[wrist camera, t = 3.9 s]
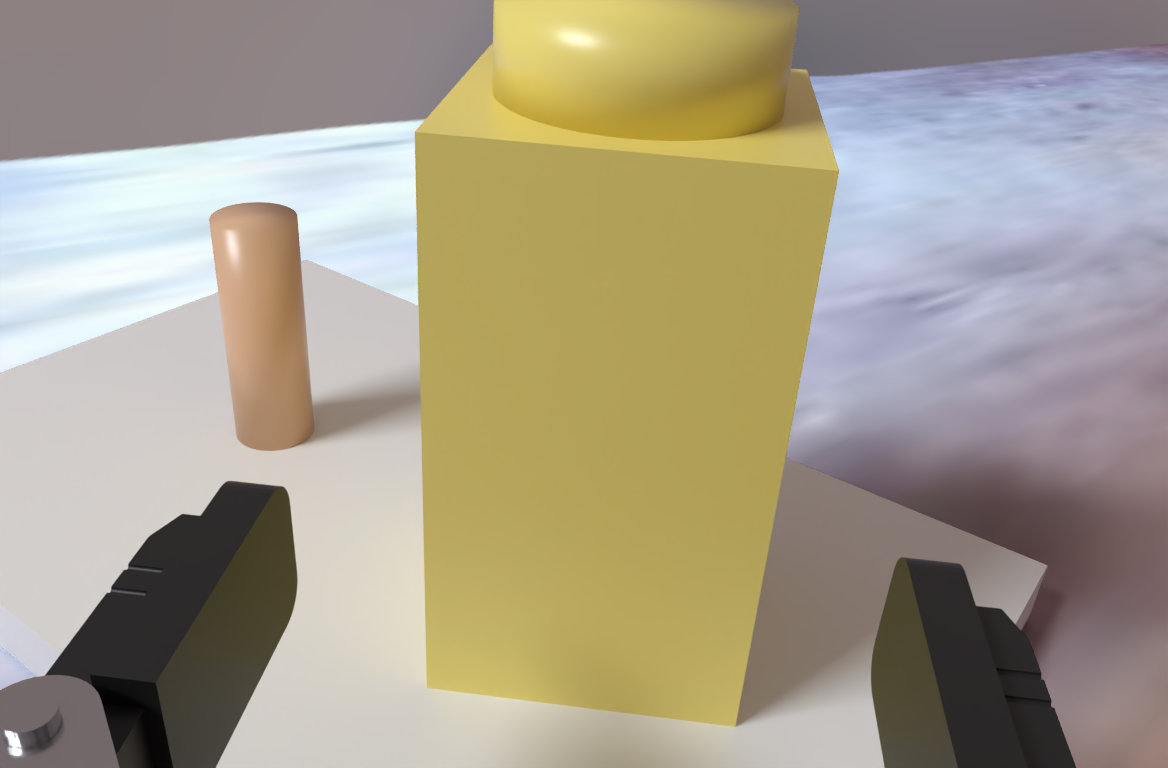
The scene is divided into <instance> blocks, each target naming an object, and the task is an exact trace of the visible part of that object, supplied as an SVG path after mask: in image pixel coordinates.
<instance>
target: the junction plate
mask: <svg viewBox="0 0 1168 768" xmlns="http://www.w3.org/2000/svg"><path fill="white" fill-rule="evenodd" d="M209 221H210V229H211V237H212V245H213V253H214V261H215V269H216V277H217V285H218V293H215V294H212V295H210V296H207V297H204V298H202V299H199V300H196V301H193V302H191V303H188V304H185V305H183V306H180V307H177V308H175V309H172V310H169V311H166V312H164V313H161V314H158V315H156V316H153V317H150V318H147V319H145V320H142V321H139V322H137V323H134V324H131V325H129V326H126V327H123V328H120V329H118V330H115V331H112V332H110V333H107V334H104V335H101V336H99V337H96V338H93V339H91V340H88V341H85V342H83V343H80V344H77V345H74V346H72V347H69V348H66V349H64V350H61V351H58V352H55V353H53V354H50V355H47V356H45V357H42V358H39V359H36V360H34V361H31V362H28V363H26V364H23V365H20V366H18V367H15V368H12V369H9V370H7V371H4V372H1V373H0V645H1V646H2V647H3V648H4V649H6V650H7V651H8V652H9V653H10V654H11V655H13V656H14V657H15V658H16V659H17V660H18V661H20V662H21V663H22V664H23V665H24V666H25V667H27V668H28V669H29V670H30V671H31V672H32V673H34V674H35V675H36V676H37V677H40V676H45V675H46V673H47V672H48V671H49V669H50V668H51V667H52V665H53V664H54V663H55V661H56V660H57V659H58V657H59V656H60V655H61V653H62V652H63V651H64V649H65V648H66V646H67V645H68V644H69V642H70V641H71V640H72V638H73V637H74V636H75V634H76V633H77V632H78V630H79V629H80V628H81V626H82V625H83V624H84V622H85V621H86V620H87V618H88V617H89V616H90V614H91V613H92V612H93V610H94V609H95V608H96V606H97V605H98V604H99V602H100V601H101V600H102V598H103V597H104V596H105V594H106V593H110V592H111V586H112V585H113V584H114V582H115V581H116V580H117V578H118V577H119V576H120V574H121V573H122V572H123V570H127V569H128V564H129V562H130V561H131V560H132V558H133V557H134V556H135V554H136V553H137V552H138V550H139V549H140V547H141V546H142V545H143V543H144V542H145V541H146V539H147V538H148V537H149V536H150V535H152V534H153V533H155V532H156V531H157V530H159V529H160V528H162V527H163V526H165V525H166V524H168V523H169V522H171V521H172V520H174V519H175V518H177V517H178V516H180V515H181V514H189V515H198V516H201V514H202V513H203V511H204V510H205V509H206V507H207V506H208V504H209V503H210V501H211V500H212V499H213V497H214V496H215V494H216V493H217V491H218V490H219V489H220V487H221V486H222V485H223V484H224V483H225V482H227V481H238V482H247V483H256V484H265V485H274V486H283V487H285V489H286V490H287V492H288V495H289V499H290V508H291V517H292V527H293V537H294V546H295V556H296V566H297V577H298V582H297V594H296V600H295V605H294V609H293V612H292V616H291V618H290V621H289V623H288V625H287V627H286V629H285V631H284V633H283V635H282V637H281V639H280V641H279V643H278V645H277V647H276V649H275V651H274V653H273V655H272V657H271V659H270V661H269V663H268V665H267V667H266V669H265V671H264V673H263V675H262V677H261V679H260V681H259V683H258V685H257V687H256V689H255V691H254V693H253V695H252V697H251V699H250V701H249V703H248V705H247V707H246V709H245V711H244V713H243V715H242V717H241V719H240V721H239V723H238V725H237V727H236V729H235V731H234V732H233V734H232V736H231V738H230V740H229V742H228V744H227V746H226V748H225V750H224V752H223V754H222V756H221V758H220V760H219V762H218V764H217V766H216V768H885V767H884V761H883V755H882V750H881V744H880V738H879V732H878V727H877V721H876V715H875V709H874V704H873V698H872V690H871V663H872V654H873V648H874V643H875V639H876V636H877V632H878V628H879V624H880V620H881V617H882V613H883V609H884V605H885V601H886V598H887V594H888V590H889V586H890V583H891V579H892V575H893V571H894V568H895V565H896V563H897V561H898V559H899V558H901V557H905V558H914V559H923V560H932V561H941V562H950V563H958V564H961V565H962V567H963V568H964V570H965V573H966V576H967V579H968V582H969V586H970V589H971V592H972V595H973V598H974V601H975V604H976V606H982V607H990V608H999V609H1002V610H1003V611H1004V612H1005V613H1006V614H1007V616H1008V617H1009V618H1010V619H1011V620H1012V621H1013V622H1014V623H1015V625H1016V626H1017V627H1018V628H1019V629H1020V630H1022V628H1023V627H1024V625H1025V623H1026V621H1027V619H1028V617H1029V616H1030V614H1031V611H1032V608H1033V605H1034V603H1035V600H1036V597H1037V594H1038V591H1039V589H1040V586H1041V583H1042V580H1043V578H1044V575H1045V572H1046V569H1047V566H1048V565H1045V564H1043V563H1040V562H1038V561H1035V560H1033V559H1031V558H1028V557H1026V556H1023V555H1021V554H1018V553H1016V552H1014V551H1011V550H1009V549H1006V548H1004V547H1001V546H999V545H997V544H994V543H992V542H989V541H987V540H985V539H982V538H980V537H977V536H975V535H972V534H970V533H968V532H965V531H963V530H960V529H958V528H955V527H953V526H951V525H948V524H946V523H943V522H941V521H938V520H936V519H934V518H931V517H929V516H926V515H924V514H922V513H919V512H917V511H914V510H912V509H909V508H907V507H905V506H902V505H900V504H897V503H895V502H892V501H890V500H888V499H885V498H883V497H880V496H878V495H875V494H873V493H871V492H868V491H866V490H863V489H861V488H859V487H856V486H854V485H851V484H849V483H846V482H844V481H842V480H839V479H837V478H834V477H832V476H829V475H827V474H825V473H822V472H820V471H817V470H815V469H812V468H810V467H808V466H805V465H803V464H800V463H798V462H796V461H793V460H791V459H788V458H785V463H784V469H783V474H782V479H781V485H780V490H779V496H778V501H777V506H776V512H775V517H774V522H773V528H772V533H771V538H770V544H769V549H768V555H767V560H766V565H765V571H764V576H763V581H762V587H761V592H760V597H759V603H758V608H757V614H756V619H755V624H754V630H753V635H752V640H751V646H750V651H749V656H748V662H747V667H746V672H745V678H744V683H743V689H742V694H741V699H740V705H739V710H738V715H737V721H736V726H735V727H732V726H724V725H716V724H708V723H700V722H692V721H685V720H677V719H669V718H661V717H653V716H645V715H637V714H629V713H621V712H613V711H605V710H597V709H590V708H582V707H574V706H566V705H558V704H550V703H542V702H534V701H526V700H518V699H510V698H502V697H495V696H487V695H479V694H471V693H463V692H455V691H447V690H439V689H431V688H427V677H426V630H425V583H424V536H423V489H422V442H421V395H420V348H419V306H417V305H415V304H413V303H410V302H408V301H405V300H403V299H400V298H398V297H396V296H393V295H391V294H388V293H386V292H384V291H381V290H379V289H376V288H374V287H371V286H369V285H367V284H364V283H362V282H359V281H357V280H354V279H352V278H350V277H347V276H345V275H342V274H340V273H337V272H335V271H333V270H330V269H328V268H325V267H323V266H321V265H318V264H316V263H313V262H311V261H308V260H304V261H302V262H301V258H300V246H299V233H298V221H297V214H296V212H295V211H294V210H292V209H291V208H289V207H286V206H283V205H279V204H273V203H242V204H236V205H231V206H228V207H224V208H222V209H219V210H217V211H216V212H214V213H213V214H212V215H211V216H210V219H209Z"/></svg>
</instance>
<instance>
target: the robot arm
mask: <svg viewBox="0 0 1168 768" xmlns="http://www.w3.org/2000/svg"><path fill="white" fill-rule="evenodd" d="M297 582H298V577H297V566H296V556H295V546H294V537H293V527H292V517H291V508H290V499H289V495H288V492H287V490H286V489H285V487H283V486H274V485H265V484H256V483H247V482H238V481H227V482H225V483H224V484H223V485H222V486H221V487H220V489H219V490H218V491H217V493H216V494H215V496H214V497H213V499H212V500H211V501H210V503H209V504H208V506H207V507H206V509H205V510H204V511H203V513H202V514H201V516H198V515H189V514H181V515H180V516H178V517H177V518H175V519H174V520H172V521H171V522H169V523H168V524H166V525H165V526H163V527H162V528H160V529H159V530H157V531H156V532H155V533H153V534H152V535H150V536H149V537H148V538H147V539H146V541H145V542H144V543H143V545H142V546H141V547H140V549H139V550H138V552H137V553H136V554H135V556H134V557H133V558H132V560H131V561H130V562H129V564H128V569H127V570H123V572H122V573H121V574H120V576H119V577H118V578H117V580H116V581H115V582H114V584H113V585H112V586H111V592H110V593H106V594H105V596H104V597H103V598H102V600H101V601H100V602H99V604H98V605H97V606H96V608H95V609H94V610H93V612H92V613H91V614H90V616H89V617H88V618H87V620H86V621H85V622H84V624H83V625H82V626H81V628H80V629H79V630H78V632H77V633H76V634H75V636H74V637H73V638H72V640H71V641H70V642H69V644H68V645H67V646H66V648H65V649H64V651H63V652H62V653H61V655H60V656H59V657H58V659H57V660H56V661H55V663H54V664H53V665H52V667H51V668H50V669H49V671H48V672H47V673H46V675H45V676H40V677H34V678H30V679H26V680H23V681H20V682H18V683H15V684H12V685H10V686H8V687H6V688H4V689H2V690H0V768H216V766H217V764H218V762H219V760H220V758H221V756H222V754H223V752H224V750H225V748H226V746H227V744H228V742H229V740H230V738H231V736H232V734H233V732H234V731H235V729H236V727H237V725H238V723H239V721H240V719H241V717H242V715H243V713H244V711H245V709H246V707H247V705H248V703H249V701H250V699H251V697H252V695H253V693H254V691H255V689H256V687H257V685H258V683H259V681H260V679H261V677H262V675H263V673H264V671H265V669H266V667H267V665H268V663H269V661H270V659H271V657H272V655H273V653H274V651H275V649H276V647H277V645H278V643H279V641H280V639H281V637H282V635H283V633H284V631H285V629H286V627H287V625H288V623H289V621H290V618H291V616H292V612H293V609H294V605H295V600H296V594H297ZM871 690H872V698H873V704H874V709H875V715H876V721H877V727H878V732H879V738H880V744H881V750H882V755H883V761H884V767H885V768H1076V766H1075V763H1074V761H1073V758H1072V755H1071V752H1070V750H1069V747H1068V744H1067V741H1066V739H1065V736H1064V733H1063V731H1062V728H1061V725H1060V722H1059V720H1058V717H1057V714H1056V712H1055V709H1054V708H1052V707H1051V698H1050V695H1049V693H1048V690H1047V687H1046V684H1045V682H1044V680H1041V671H1040V668H1039V665H1038V663H1037V660H1036V657H1035V655H1034V652H1033V649H1032V646H1031V644H1030V641H1029V639H1028V638H1027V637H1026V636H1025V635H1024V634H1023V632H1022V631H1021V630H1020V629H1019V628H1018V627H1017V626H1016V625H1015V623H1014V622H1013V621H1012V620H1011V619H1010V618H1009V617H1008V616H1007V614H1006V613H1005V612H1004V611H1003V610H1002V609H999V608H990V607H982V606H976V604H975V601H974V598H973V595H972V592H971V589H970V586H969V582H968V579H967V576H966V573H965V570H964V568H963V567H962V565H961V564H958V563H950V562H941V561H932V560H923V559H914V558H905V557H901V558H899V559H898V561H897V563H896V565H895V568H894V571H893V575H892V579H891V583H890V586H889V590H888V594H887V598H886V601H885V605H884V609H883V613H882V617H881V620H880V624H879V628H878V632H877V636H876V639H875V643H874V648H873V654H872V663H871Z"/></svg>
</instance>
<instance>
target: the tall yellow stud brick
mask: <svg viewBox="0 0 1168 768" xmlns="http://www.w3.org/2000/svg"><path fill="white" fill-rule="evenodd" d="M798 17H799V6H798V5H797V4H796V3H795V2H793V1H792V0H494V27H493V43H492V44H491V45H490V47H489V48H488V49H487V50H486V51H485V52H484V53H483V55H482V56H481V57H480V58H479V59H478V60H477V61H476V62H475V64H474V65H473V66H472V67H471V68H470V69H469V71H468V72H467V73H466V74H465V75H464V76H463V77H462V79H461V80H460V81H459V82H458V83H457V84H456V86H455V87H454V88H453V89H452V90H451V91H450V92H449V94H448V95H447V96H446V97H445V98H444V99H443V100H442V102H441V103H440V104H439V105H438V106H437V107H436V108H435V110H434V111H433V112H432V113H431V114H430V115H429V116H428V118H427V119H426V120H425V121H424V122H423V123H422V124H421V126H420V127H419V128H418V129H417V130H416V131H415V160H416V207H417V254H418V301H419V348H420V395H421V442H422V489H423V536H424V583H425V630H426V677H427V688H431V689H439V690H447V691H455V692H463V693H471V694H479V695H487V696H495V697H502V698H510V699H518V700H526V701H534V702H542V703H550V704H558V705H566V706H574V707H582V708H590V709H597V710H605V711H613V712H621V713H629V714H637V715H645V716H653V717H661V718H669V719H677V720H685V721H692V722H700V723H708V724H716V725H724V726H732V727H735V726H736V721H737V715H738V710H739V705H740V699H741V694H742V689H743V683H744V678H745V672H746V667H747V662H748V656H749V651H750V646H751V640H752V635H753V630H754V624H755V619H756V614H757V608H758V603H759V597H760V592H761V587H762V581H763V576H764V571H765V565H766V560H767V555H768V549H769V544H770V538H771V533H772V528H773V522H774V517H775V512H776V506H777V501H778V496H779V490H780V485H781V479H782V474H783V469H784V463H785V458H786V453H787V447H788V442H789V437H790V431H791V426H792V421H793V415H794V410H795V404H796V399H797V394H798V388H799V383H800V378H801V372H802V367H803V362H804V356H805V351H806V345H807V340H808V335H809V329H810V324H811V319H812V313H813V308H814V303H815V297H816V292H817V286H818V281H819V276H820V270H821V265H822V260H823V254H824V249H825V244H826V238H827V233H828V227H829V222H830V217H831V211H832V206H833V201H834V195H835V190H836V185H837V179H838V174H839V169H838V166H837V163H836V160H835V156H834V153H833V150H832V147H831V144H830V141H829V138H828V135H827V131H826V128H825V125H824V122H823V119H822V116H821V113H820V110H819V106H818V103H817V100H816V97H815V94H814V91H813V88H812V85H811V81H810V78H809V75H808V72H807V70H800V69H791V63H792V56H793V50H794V44H795V37H796V31H797V24H798Z"/></svg>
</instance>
